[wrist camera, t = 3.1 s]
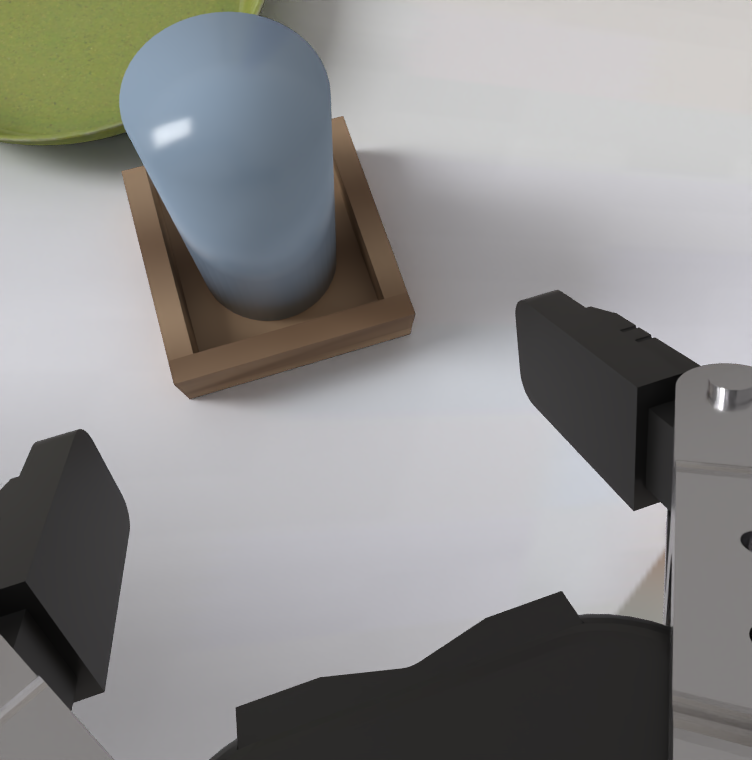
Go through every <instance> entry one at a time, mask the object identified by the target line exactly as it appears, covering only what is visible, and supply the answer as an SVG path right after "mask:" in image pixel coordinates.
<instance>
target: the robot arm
mask: <svg viewBox="0 0 752 760" xmlns="http://www.w3.org/2000/svg"><path fill="white" fill-rule="evenodd" d="M515 314H516V328H517V339H518V351H519V363H520V374H521V379H522V383H523V386H524V389H525V392H526V394H527V396H528V398H529V400H530V401H531V403H532V404H533V405H534V406H535V407H536V408H537V409H538V410H539V411H540V412H541V414H542V415H543V416H544V417H545V418H546V419H547V420H548V421H549V422H550V423H551V424H552V425H553V426H554V427H555V428H556V429H557V430H558V432H559V433H560V434H561V435H562V436H563V437H564V438H565V439H566V440H567V441H568V442H569V443H570V444H571V445H572V446H573V447H574V448H575V450H576V451H577V452H578V453H579V454H580V455H581V456H582V457H583V458H584V459H585V460H586V461H587V462H588V463H589V464H590V465H591V466H592V468H593V469H594V470H595V471H596V472H597V473H598V474H599V475H600V476H601V477H602V478H603V479H604V480H605V481H606V482H607V483H608V484H609V486H610V487H611V488H612V489H613V490H614V491H615V492H616V493H617V494H618V495H619V496H620V497H621V498H622V499H623V500H624V501H625V502H626V504H627V505H628V506H629V507H630V508H631V509H632V510H633V511H636V510H638V509H641V508H644V507H647V506H650V505H653V504H656V503H659V502H661V503H662V504H663V505H664V506H665V507H666V508H667V522H666V550H665V583H664V612H663V624H659V623H656V622H653V621H649V620H644V619H639V618H634V617H630V616H620V615H611V614H583V615H578V614H577V613H576V611H575V610H574V608H573V607H572V605H571V604H570V602H569V601H568V599H567V598H566V596H565V595H564V593H563V592H562V591H560V592H558V593H555V594H552V595H549V596H546V597H544V598H541V599H538V600H535V601H532V602H530V603H527V604H524V605H521V606H518V607H516V608H513V609H510V610H507V611H504V612H502V613H499V614H496V615H493V616H490V617H488V618H485V619H484V620H482V621H481V622H479V623H478V624H476V625H475V626H473V627H472V628H470V629H469V630H467V631H466V632H464V633H463V634H461V635H460V636H458V637H456V638H455V639H453V640H452V641H450V642H449V643H447V644H446V645H444V646H443V647H441V648H440V649H438V650H437V651H435V652H434V653H432V654H431V655H429V656H428V657H426V658H425V659H423V660H422V661H420V662H419V663H417V664H415V665H413V666H410V667H407V668H402V669H393V670H384V671H375V672H365V673H356V674H347V675H338V676H329V677H320V678H317V679H314V680H311V681H309V682H306V683H303V684H300V685H297V686H295V687H292V688H289V689H286V690H283V691H281V692H278V693H275V694H272V695H269V696H267V697H264V698H261V699H258V700H255V701H253V702H250V703H247V704H244V705H241V706H239V707H236V722H237V739H236V740H234V741H233V742H231V743H230V744H228V745H227V746H225V747H224V748H223V749H222V750H220V751H219V752H218V753H217V754H215V755H214V756H213V757H212V758H210V759H209V760H752V367H751V366H747V365H740V364H729V363H719V364H709V365H703V366H700V365H698V364H697V363H695V362H694V361H692V360H690V359H689V358H687V357H686V356H684V355H682V354H681V353H679V352H678V351H676V350H674V349H673V348H671V347H670V346H668V345H666V344H665V343H663V342H662V341H660V340H658V339H657V338H652V337H651V335H650V334H649V333H647V332H646V331H644V330H642V329H641V328H636V325H634V324H633V323H631V322H630V321H628V320H626V319H625V318H623V317H622V316H620V315H618V314H617V313H613V312H609V311H605V310H602V309H598V308H594V307H587V308H585V307H584V306H582V305H581V304H579V303H578V302H576V301H575V300H573V299H572V298H570V297H569V296H567V295H566V294H564V293H563V292H561V291H559V290H555V291H551V292H548V293H545V294H541V295H538V296H534V297H531V298H528V299H524V300H521V301H519V302H518V303H517V306H516V312H515ZM129 531H130V521H129V514H128V510H127V506H126V503H125V501H124V498H123V496H122V494H121V492H120V490H119V488H118V487H117V485H116V483H115V481H114V479H113V477H112V475H111V474H110V472H109V470H108V468H107V466H106V464H105V462H104V461H103V459H102V457H101V455H100V453H99V451H98V449H97V448H96V446H95V444H94V442H93V440H92V439H91V437H90V436H89V434H88V433H87V432H86V431H84V430H82V429H78V430H75V431H72V432H68V433H65V434H61V435H58V436H55V437H51V438H48V439H44V440H41V441H38V442H35V443H34V444H33V446H32V448H31V451H30V453H29V455H28V457H27V460H26V462H25V464H24V467H23V469H22V471H21V473H20V476H19V477H16V478H12V479H10V481H9V482H8V483H7V484H6V485H5V486H4V487H3V488H2V489H1V490H0V760H114V759H113V758H112V757H111V756H110V755H109V754H108V753H107V751H106V750H105V749H104V748H103V747H102V746H101V745H100V744H99V742H98V741H97V740H96V739H95V738H94V737H93V736H92V735H91V733H90V732H89V731H88V730H87V729H86V728H85V727H84V725H83V724H82V723H81V722H80V721H79V720H78V719H77V718H76V716H75V715H74V714H73V713H72V712H71V710H72V705H73V703H74V702H77V701H80V700H82V699H85V698H88V697H91V696H94V695H97V694H100V693H103V692H105V685H106V679H107V672H108V666H109V660H110V653H111V647H112V640H113V634H114V628H115V621H116V615H117V608H118V602H119V595H120V589H121V583H122V576H123V570H124V563H125V557H126V551H127V544H128V538H129Z"/></svg>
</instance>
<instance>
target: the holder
mask: <svg viewBox="0 0 752 760" xmlns="http://www.w3.org/2000/svg"><path fill="white" fill-rule="evenodd" d="M332 145H333V170H334V196H335V221H336V246H337V265H336V270H335V274H334V277H333V280H332V282H331V284H330V286H329V288H328V289H327V291H326V292H325V294H324V295H323V296H322V297H321V298H320V299H319V300H318V301H317V302H316V303H315V304H314V305H313V306H311V307H310V308H308V309H307V310H305V311H304V312H302V313H300V314H298V315H295V316H292V317H289V318H286V319H281V320H274V321H260V320H253V319H249V318H245V317H242V316H240V315H238V314H235V313H233V312H232V311H230V310H228V309H227V308H225V307H224V306H223V305H222V304H220V303H219V302H218V301H217V300H216V298H215V297H214V296H213V295H212V293H211V292H210V291H209V289H208V287H207V285H206V283H205V281H204V279H203V277H202V275H201V273H200V271H199V270H198V268H197V266H196V264H195V262H194V260H193V258H192V256H191V254H190V252H189V250H188V249H187V247H186V245H185V243H184V241H183V239H182V237H181V235H180V233H179V231H178V229H177V228H176V226H175V224H174V222H173V220H172V218H171V216H170V214H169V212H168V210H167V208H166V207H165V205H164V203H163V201H162V199H161V197H160V195H159V193H158V191H157V189H156V188H155V186H154V184H153V182H152V180H151V178H150V176H149V174H148V172H147V170H146V168H145V167H144V166H140V167H136V168H132V169H128V170H124V171H121V172H122V176H123V180H124V184H125V188H126V192H127V196H128V200H129V204H130V208H131V212H132V216H133V221H134V225H135V229H136V233H137V237H138V241H139V245H140V249H141V253H142V257H143V261H144V265H145V269H146V273H147V277H148V281H149V285H150V289H151V294H152V298H153V302H154V306H155V310H156V314H157V318H158V322H159V326H160V330H161V334H162V338H163V342H164V346H165V350H166V354H167V358H168V362H169V367H170V371H171V375H172V379H173V383H174V385H175V386H176V387H177V388H178V389H179V390H181V391H182V392H183V393H184V394H185V395H186V396H187V397H188V398H189V399H192V398H196V397H199V396H202V395H206V394H209V393H212V392H216V391H219V390H222V389H226V388H229V387H233V386H236V385H239V384H243V383H246V382H249V381H253V380H256V379H260V378H263V377H266V376H270V375H273V374H276V373H280V372H283V371H287V370H290V369H293V368H297V367H300V366H303V365H307V364H310V363H314V362H317V361H320V360H324V359H327V358H330V357H334V356H337V355H341V354H344V353H347V352H351V351H354V350H357V349H361V348H364V347H368V346H371V345H374V344H378V343H381V342H384V341H388V340H391V339H395V338H398V337H401V336H405V335H408V334H410V332H411V328H412V324H413V320H414V317H415V312H414V309H413V306H412V303H411V301H410V298H409V295H408V292H407V290H406V287H405V284H404V281H403V279H402V276H401V273H400V271H399V268H398V265H397V262H396V260H395V257H394V254H393V251H392V249H391V246H390V243H389V240H388V238H387V235H386V232H385V230H384V227H383V224H382V221H381V219H380V216H379V213H378V210H377V208H376V205H375V202H374V199H373V197H372V194H371V191H370V188H369V186H368V183H367V180H366V178H365V175H364V172H363V169H362V167H361V164H360V161H359V158H358V156H357V153H356V150H355V147H354V145H353V142H352V139H351V137H350V134H349V131H348V128H347V126H346V123H345V120H344V117H343V116H341V117H337V118H333V119H332Z"/></svg>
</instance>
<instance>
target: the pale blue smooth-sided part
mask: <svg viewBox="0 0 752 760" xmlns="http://www.w3.org/2000/svg"><path fill="white" fill-rule="evenodd" d="M119 107H120V113H121V119H122V122H123V125H124V128H125V130H126V132H127V134H128V136H129V138H130V140H131V142H132V144H133V146H134V147H135V149H136V151H137V153H138V155H139V157H140V159H141V161H142V163H143V165H144V167H145V168H146V170H147V172H148V174H149V176H150V178H151V180H152V182H153V184H154V186H155V188H156V189H157V191H158V193H159V195H160V197H161V199H162V201H163V203H164V205H165V207H166V208H167V210H168V212H169V214H170V216H171V218H172V220H173V222H174V224H175V226H176V228H177V229H178V231H179V233H180V235H181V237H182V239H183V241H184V243H185V245H186V247H187V249H188V250H189V252H190V254H191V256H192V258H193V260H194V262H195V264H196V266H197V268H198V270H199V271H200V273H201V275H202V277H203V279H204V281H205V283H206V285H207V287H208V289H209V291H210V292H211V293H212V295H213V296H214V297H215V298H216V300H217V301H218V302H219V303H220V304H222V305H223V306H224V307H225V308H227V309H228V310H230V311H232V312H233V313H235V314H238V315H240V316H242V317H245V318H249V319H253V320H260V321H274V320H281V319H286V318H289V317H292V316H295V315H298V314H300V313H302V312H304V311H305V310H307V309H308V308H310V307H311V306H313V305H314V304H315V303H316V302H317V301H318V300H319V299H320V298H321V297H322V296H323V295H324V294H325V292H326V291H327V289H328V288H329V286H330V284H331V282H332V280H333V277H334V274H335V270H336V265H337V246H336V221H335V196H334V170H333V145H332V119H331V94H330V85H329V80H328V76H327V72H326V70H325V68H324V65H323V63H322V61H321V59H320V58H319V56H318V55H317V53H316V52H315V50H314V49H313V48H312V47H311V46H310V45H309V43H308V42H306V41H305V40H304V39H303V38H302V37H301V36H300V35H299V34H297V33H296V32H294V31H293V30H291V29H290V28H288V27H286V26H284V25H282V24H281V23H279V22H276V21H274V20H271V19H268V18H266V17H262V16H258V15H254V14H248V13H242V12H214V13H208V14H202V15H198V16H194V17H190V18H187V19H185V20H182V21H179V22H177V23H175V24H173V25H171V26H169V27H167V28H165V29H164V30H162V31H161V32H159V33H158V34H156V35H155V36H153V37H152V38H151V39H150V40H149V41H148V42H146V43H145V44H144V45H143V47H142V48H141V49H140V50H139V51H138V52H137V53H136V55H135V56H134V58H133V59H132V61H131V62H130V64H129V66H128V68H127V70H126V72H125V74H124V77H123V80H122V83H121V89H120V95H119Z"/></svg>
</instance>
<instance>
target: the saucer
mask: <svg viewBox="0 0 752 760" xmlns="http://www.w3.org/2000/svg"><path fill="white" fill-rule="evenodd" d="M264 1H265V0H0V142H3V143H11V144H22V145H63V144H74V143H81V142H88V141H93V140H99V139H104V138H108V137H111V136H115V135H118V134H122V133H125V132H126V130H125V128H124V125H123V122H122V119H121V113H120V107H119V95H120V89H121V83H122V80H123V77H124V74H125V72H126V70H127V68H128V66H129V64H130V62H131V61H132V59H133V58H134V56H135V55H136V53H137V52H138V51H139V50H140V49H141V48H142V47H143V45H144V44H145V43H146V42H148V41H149V40H150V39H151V38H152V37H153V36H155V35H156V34H158V33H159V32H161V31H162V30H164V29H165V28H167V27H169V26H171V25H173V24H175V23H177V22H179V21H182V20H185V19H187V18H190V17H194V16H198V15H202V14H208V13H214V12H242V13H248V14H254V15H258V16H259V14H260V11H261V9H262V7H263V4H264Z"/></svg>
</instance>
